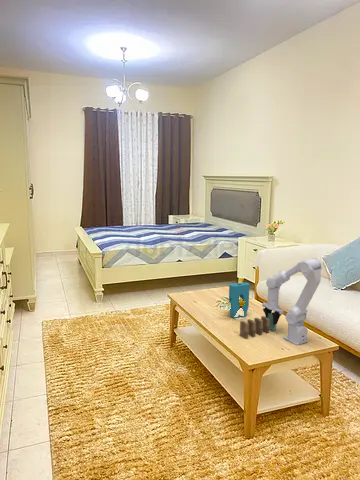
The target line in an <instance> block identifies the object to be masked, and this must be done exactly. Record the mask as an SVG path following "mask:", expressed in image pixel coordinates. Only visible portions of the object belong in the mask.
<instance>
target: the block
mask: <svg viewBox="0 0 360 480" xmlns="http://www.w3.org/2000/svg"><path fill="white" fill-rule="evenodd" d="M250 285H251V284H250V283H248V282H238V283H237V282H236V283H229V285H228V303H229V302H230V303H231V309H230V310H229V309H228V310H229V315H230V317H231V318H233V319H235V320H237V319H240V318H245V317H247V314H248V310H249V304H250V302H249V301H250ZM239 296H240V297H241V298H242V299H243V301H246V303H245V305H244V306H242V307H243V308H242V309H243V311H244V316H238V317H234V316H235V315H236V313H237V311H238V310H239V309H240V306H239Z"/></svg>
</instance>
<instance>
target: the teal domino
mask: <svg viewBox="0 0 360 480" xmlns="http://www.w3.org/2000/svg"><path fill="white" fill-rule="evenodd" d="M268 318H269V319H270V326H269V330H272V331H276V329H277V324H276V325H273V315H272V313H268Z"/></svg>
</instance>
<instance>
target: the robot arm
mask: <svg viewBox="0 0 360 480" xmlns="http://www.w3.org/2000/svg"><path fill="white" fill-rule="evenodd" d="M322 269H323V266H322V263H321V261H320V260H319V259H318V258H312V259H311V258H310V259H307V260H301V261H300V262H297V263H296V264H295V265H293V266H292V267H289V269H287V270H279V271H278V273H277V274H273V276H272V277H268V278H267V279H266V282H265V283H266V287H267V302H262V303H261V304H262V305H261V306H262V307H263V308H262V310H263V313H264V315H265V317H267V318H268V313H272V315H273V325H276V326H277V325H278V322H279V320H280V317H281V316H282V315H284V310H283V309H282V308H280V305H279V298H280V296H279V295H280V288H281V287H282V285H284V284H285V283H287V282H288V281H290V280H291V277H292V276H294V275H296V274H298V273H301V274H303V276H304V277H305V280H307V282H306V283H305V285H304V287H303V289H302V290H301V293H300V295H299V296H298V299H297V300H296V303H295V304H294V306H292V308H291V309H290V310H288V312H287V313H286V314H285V321H286V322H287V335H286V336H283V339H284V340H287V341H288V342H290V343H293V344H294V345H297V346H299V345H302V344H305V343H309V341H308V328H307V327H306V326H305V325H304V321H305V320H307V313H308V311H309V310H308V309H307V308H308V306H309V304H310V302H311V300H312V299H313V297H314V295H315V293H316V291H317V289H318V288H319V285H320V284H321V279H322V278H321V277H322V274H321V273H322Z"/></svg>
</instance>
